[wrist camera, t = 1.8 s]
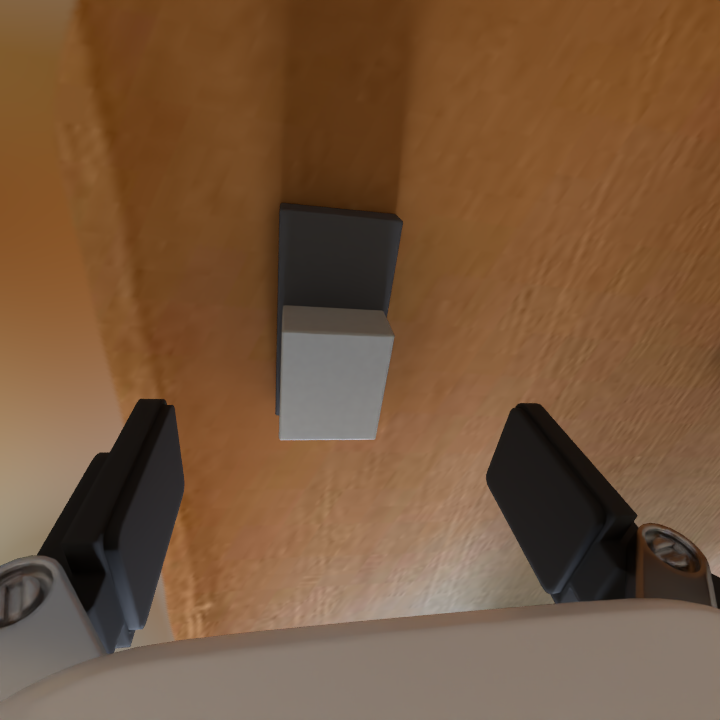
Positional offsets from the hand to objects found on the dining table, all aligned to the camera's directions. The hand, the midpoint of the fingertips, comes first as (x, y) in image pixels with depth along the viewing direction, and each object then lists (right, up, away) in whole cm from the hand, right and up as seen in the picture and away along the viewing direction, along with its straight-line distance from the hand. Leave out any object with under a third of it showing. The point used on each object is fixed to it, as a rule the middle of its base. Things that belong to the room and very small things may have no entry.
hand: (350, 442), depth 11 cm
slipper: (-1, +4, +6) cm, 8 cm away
